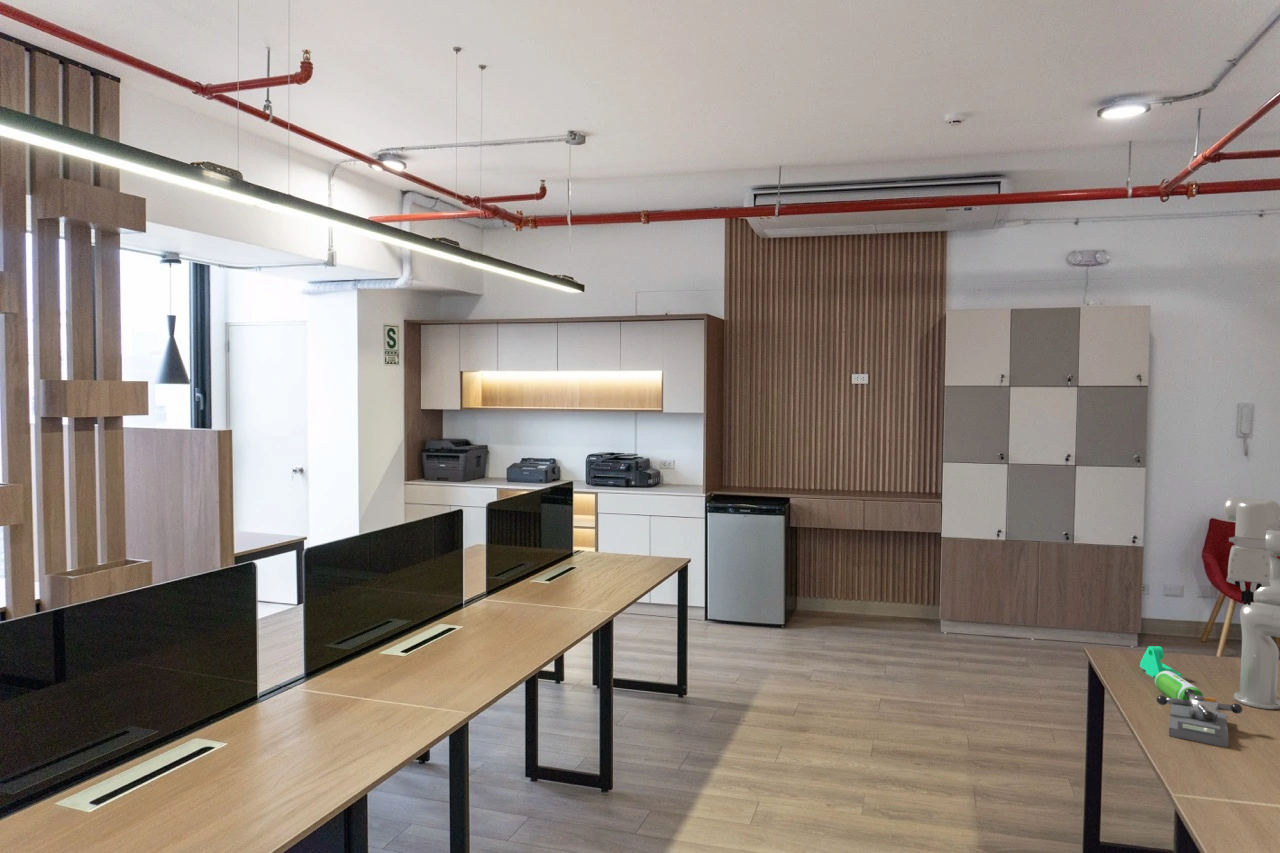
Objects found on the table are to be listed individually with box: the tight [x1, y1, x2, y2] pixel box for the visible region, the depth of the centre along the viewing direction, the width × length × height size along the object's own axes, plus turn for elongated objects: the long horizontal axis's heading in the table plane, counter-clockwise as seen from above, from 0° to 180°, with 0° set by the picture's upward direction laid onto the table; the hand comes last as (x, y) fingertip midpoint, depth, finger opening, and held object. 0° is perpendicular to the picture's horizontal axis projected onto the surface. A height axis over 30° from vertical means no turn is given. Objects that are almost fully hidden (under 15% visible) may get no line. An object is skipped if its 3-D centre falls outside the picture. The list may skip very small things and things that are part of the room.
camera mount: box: [1139, 645, 1182, 679], centre depth 297 cm, size 12×8×10 cm, turn 179°
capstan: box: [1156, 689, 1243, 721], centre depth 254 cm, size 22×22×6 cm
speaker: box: [1153, 671, 1204, 707], centre depth 274 cm, size 18×7×8 cm, turn 175°
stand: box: [1168, 704, 1229, 748], centre depth 251 cm, size 22×14×5 cm, turn 147°
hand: (1246, 603), depth 257 cm, fingers closed
